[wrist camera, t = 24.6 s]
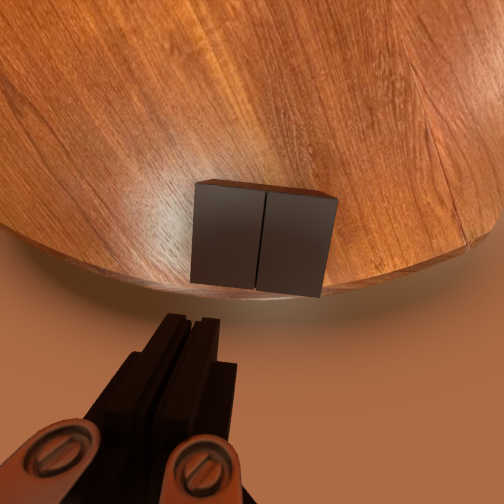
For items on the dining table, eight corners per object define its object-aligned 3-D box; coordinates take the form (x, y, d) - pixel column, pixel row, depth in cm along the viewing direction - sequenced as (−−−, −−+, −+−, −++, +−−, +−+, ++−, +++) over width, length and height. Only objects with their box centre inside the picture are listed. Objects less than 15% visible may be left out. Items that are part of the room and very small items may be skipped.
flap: (190, 281, 26) (189, 282, 26) (195, 183, 24) (195, 183, 24) (253, 288, 26) (254, 289, 26) (265, 190, 24) (265, 191, 24)
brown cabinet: (207, 254, 35) (188, 283, 26) (213, 178, 32) (194, 182, 24) (306, 266, 35) (320, 298, 26) (319, 190, 32) (339, 199, 24)
